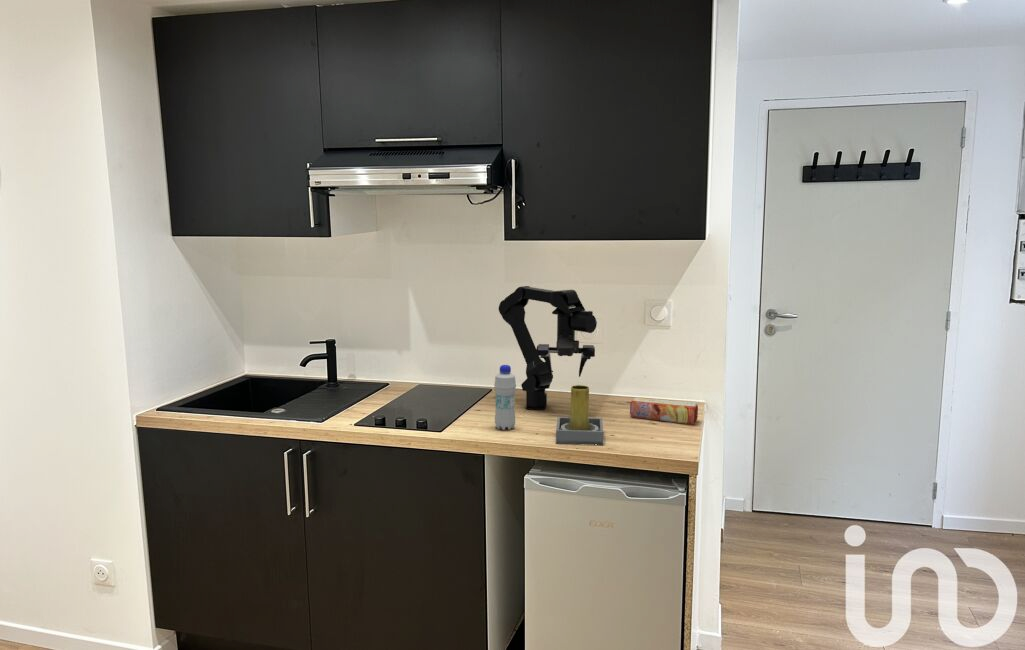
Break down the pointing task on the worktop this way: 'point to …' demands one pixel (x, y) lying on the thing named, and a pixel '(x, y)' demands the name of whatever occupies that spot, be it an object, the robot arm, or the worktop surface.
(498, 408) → the bottle
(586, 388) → the vase
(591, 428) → the collar
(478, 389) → the worktop surface
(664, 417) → the snack package
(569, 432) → the tray
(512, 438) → the worktop surface
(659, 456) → the worktop surface
